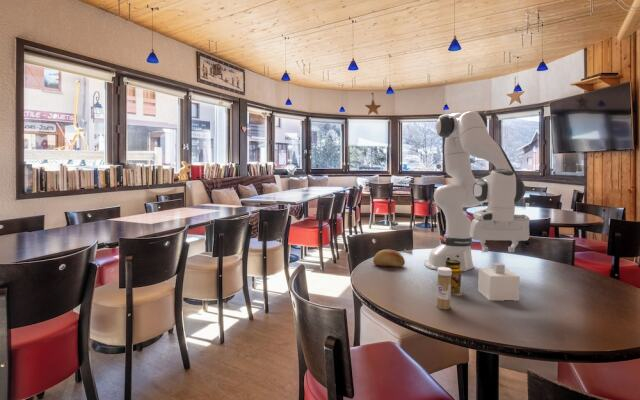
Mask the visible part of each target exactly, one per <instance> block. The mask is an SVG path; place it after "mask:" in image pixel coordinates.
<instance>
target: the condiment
mask: <svg viewBox="0 0 640 400" xmlns="http://www.w3.org/2000/svg"><path fill="white" fill-rule="evenodd" d="M445 267H447V268H450V269H452V275H451V296H463V294H462V293H463V292H462V289H461V286H462V284H461V283H462V271H461V268H460V261H458V260H446V264H445Z"/></svg>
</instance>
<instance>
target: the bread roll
mask: <svg viewBox="0 0 640 400" xmlns="http://www.w3.org/2000/svg"><path fill="white" fill-rule="evenodd" d="M372 262H373V264H374V265H375V266H381V267H382V266H384V267H397V268H398V267H399V268H400V267H403V266H404V265H405V263H406V261H405V258H404V257H403V255H402V254H401V253H400V252H398V251H397V250H395V249H388V248H387V249H381V250H378V251H377V252H376V253H375V255H374V256H373V259H372Z"/></svg>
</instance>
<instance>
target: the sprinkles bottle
mask: <svg viewBox="0 0 640 400" xmlns="http://www.w3.org/2000/svg"><path fill="white" fill-rule="evenodd" d="M436 272H437V273H436V274H437V288H436V308H438V309H441V310H449V309H450V308H451V296H452V295H451V275H452V269H450V268H447V267H439V268H438V270H436Z"/></svg>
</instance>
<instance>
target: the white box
mask: <svg viewBox="0 0 640 400" xmlns="http://www.w3.org/2000/svg"><path fill="white" fill-rule="evenodd" d="M505 267H506V265H505V264H503V263H501V262H493V263H492V268H491V267H490V268H489V267H482V268H481V267H478V275H477V277H478V278H477V279H478V280H477V281H478V283H477V292H479V293H480V294H481V295H483V296H484V298H486V299H487V300H488V301H504V300H514V301H515V302H516V301H517V302H518V301H519V296H520V295H519V294H520V279H521V278H520V276H519V275H518V274H516V273H515V272H513V271H511V270H510V269H508V268H507V267H506V268H505ZM514 301H513V302H514Z"/></svg>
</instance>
